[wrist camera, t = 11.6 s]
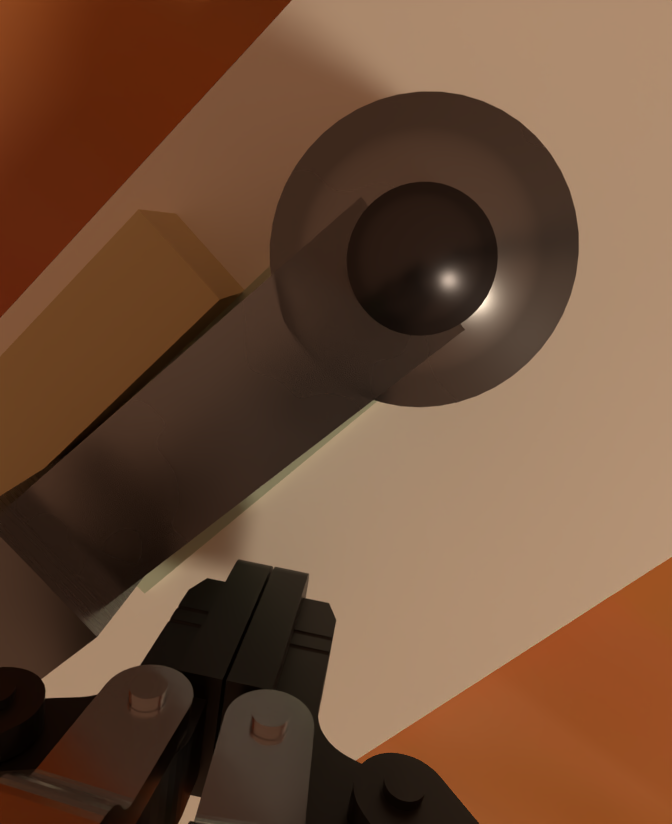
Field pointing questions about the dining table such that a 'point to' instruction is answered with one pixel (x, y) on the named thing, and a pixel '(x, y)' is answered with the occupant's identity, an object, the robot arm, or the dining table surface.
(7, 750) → the robot arm
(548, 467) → the lock board
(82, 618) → the latch bar
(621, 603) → the dining table surface
